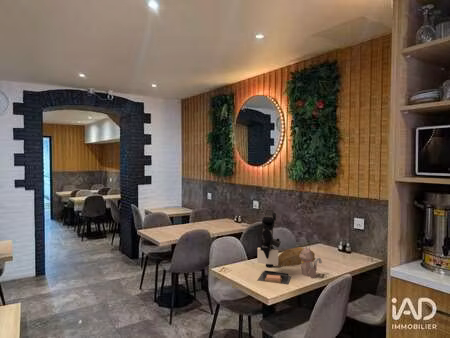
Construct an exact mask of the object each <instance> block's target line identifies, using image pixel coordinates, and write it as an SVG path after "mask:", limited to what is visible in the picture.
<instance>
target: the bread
mask: <svg viewBox="0 0 450 338" xmlns="http://www.w3.org/2000/svg"><path fill="white" fill-rule="evenodd" d="M304 248H305V247H302V246H299V247H293V248H287V249H285V250H284V251H283V252H281V253H280V254H278V265H277V266H278V267H291V266H297V265H301V258H300V257H299V255H300V253H301V251H303V250H304ZM311 253H312V256H313V259H312V262H314V261H313V260H315V259H316V257H315V252H314V251H312V250H311Z"/></svg>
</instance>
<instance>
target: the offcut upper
mask: <svg viewBox="0 0 450 338" xmlns="http://www.w3.org/2000/svg"><path fill="white" fill-rule="evenodd" d="M266 280H277V281H280V276H278V275H267V277H266Z"/></svg>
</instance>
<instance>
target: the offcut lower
mask: <svg viewBox="0 0 450 338" xmlns="http://www.w3.org/2000/svg"><path fill="white" fill-rule="evenodd" d="M266 277H267V276H266ZM281 281H282V278H280V281H277V280H266V278H265V282H264V283H271V282H272V283H274V284H279V283H280V285H282V284H281Z"/></svg>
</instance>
